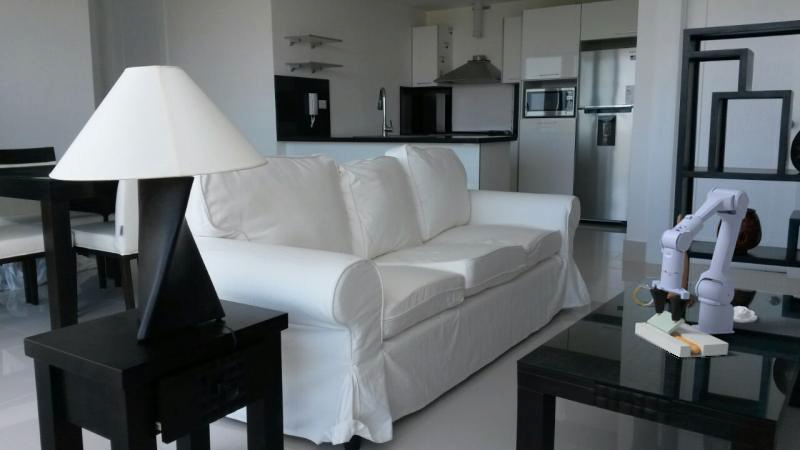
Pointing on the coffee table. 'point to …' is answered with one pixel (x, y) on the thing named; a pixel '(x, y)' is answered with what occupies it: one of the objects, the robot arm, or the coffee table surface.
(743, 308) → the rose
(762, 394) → the coffee table surface
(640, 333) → the board
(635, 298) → the ring
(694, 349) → the orange rounded rod
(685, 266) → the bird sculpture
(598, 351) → the coffee table surface
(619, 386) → the coffee table surface
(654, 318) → the cover
